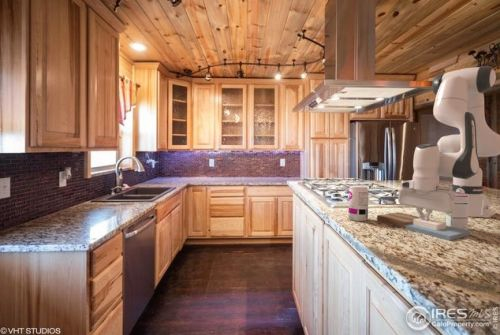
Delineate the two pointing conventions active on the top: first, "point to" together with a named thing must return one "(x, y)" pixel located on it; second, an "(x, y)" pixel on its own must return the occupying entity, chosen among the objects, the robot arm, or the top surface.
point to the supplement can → (358, 203)
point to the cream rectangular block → (429, 224)
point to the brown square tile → (396, 219)
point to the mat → (440, 231)
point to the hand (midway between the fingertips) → (423, 219)
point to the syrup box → (459, 212)
